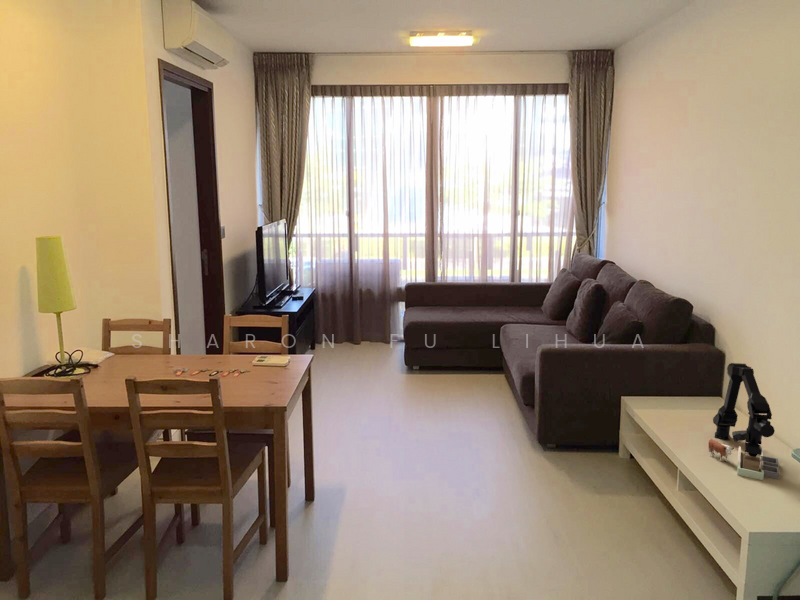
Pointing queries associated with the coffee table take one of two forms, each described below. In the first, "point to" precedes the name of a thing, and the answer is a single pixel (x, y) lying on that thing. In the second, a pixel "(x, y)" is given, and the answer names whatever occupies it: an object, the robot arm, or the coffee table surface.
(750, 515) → the coffee table surface
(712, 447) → the bull figurine
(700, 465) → the coffee table surface
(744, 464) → the walnut block
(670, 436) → the coffee table surface
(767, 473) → the trap pen
